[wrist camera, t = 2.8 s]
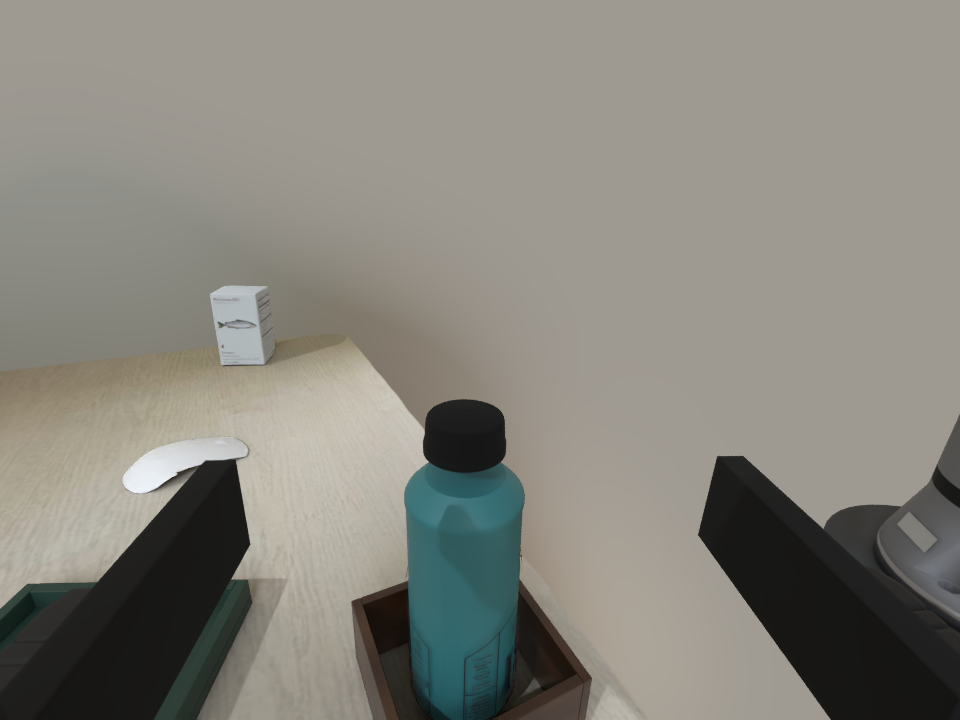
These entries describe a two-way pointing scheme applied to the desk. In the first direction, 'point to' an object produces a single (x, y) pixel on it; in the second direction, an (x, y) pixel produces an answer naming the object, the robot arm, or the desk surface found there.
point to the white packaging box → (243, 324)
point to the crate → (552, 662)
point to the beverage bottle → (463, 564)
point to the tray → (199, 666)
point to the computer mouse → (179, 460)
